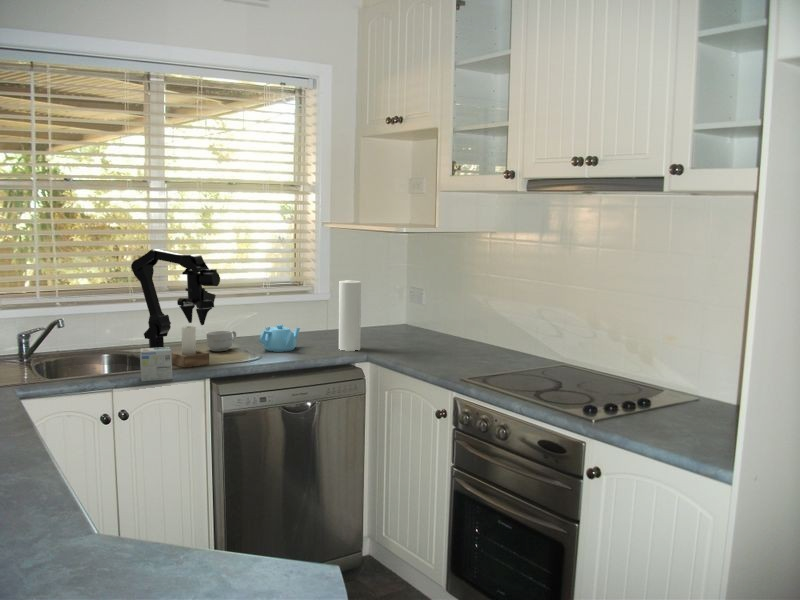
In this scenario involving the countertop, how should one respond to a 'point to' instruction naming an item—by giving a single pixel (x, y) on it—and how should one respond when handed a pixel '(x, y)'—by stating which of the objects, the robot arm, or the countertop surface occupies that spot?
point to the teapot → (279, 338)
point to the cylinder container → (349, 315)
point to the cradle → (190, 359)
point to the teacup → (220, 340)
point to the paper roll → (188, 340)
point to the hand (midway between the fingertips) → (196, 323)
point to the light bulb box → (156, 364)
